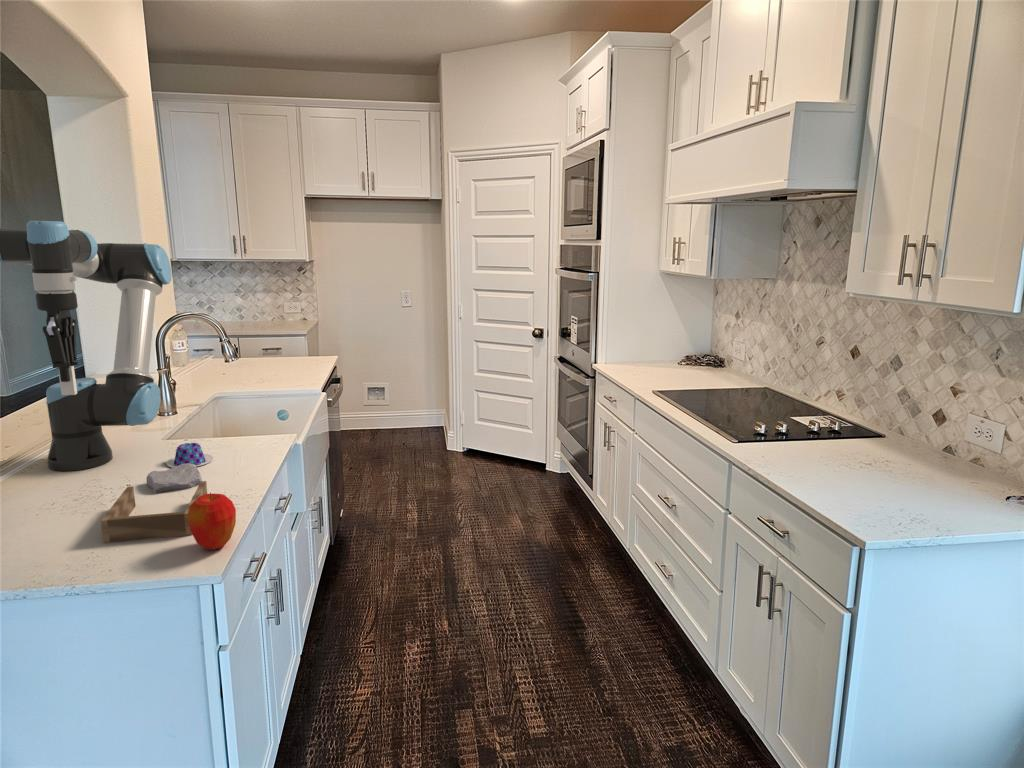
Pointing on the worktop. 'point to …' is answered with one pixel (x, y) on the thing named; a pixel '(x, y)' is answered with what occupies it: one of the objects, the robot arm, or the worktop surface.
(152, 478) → the stone block
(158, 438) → the worktop surface
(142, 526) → the cubby
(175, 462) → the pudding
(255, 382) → the worktop surface
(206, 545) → the apple
